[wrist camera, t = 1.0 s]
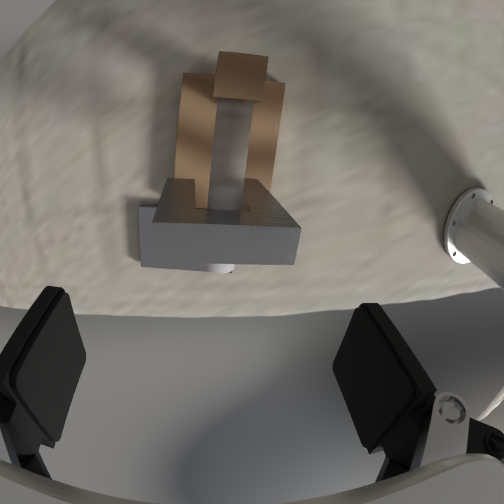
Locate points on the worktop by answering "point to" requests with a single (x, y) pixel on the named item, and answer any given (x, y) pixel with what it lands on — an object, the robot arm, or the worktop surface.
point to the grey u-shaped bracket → (223, 228)
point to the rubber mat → (146, 243)
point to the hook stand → (228, 132)
